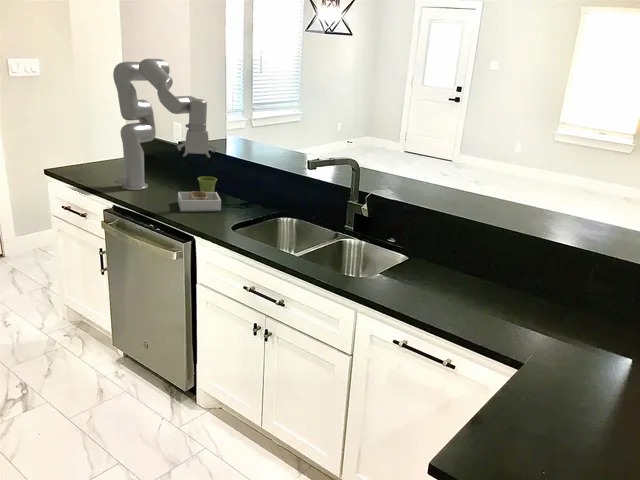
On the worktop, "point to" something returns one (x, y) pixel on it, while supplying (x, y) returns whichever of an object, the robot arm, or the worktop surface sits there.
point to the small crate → (198, 196)
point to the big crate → (199, 202)
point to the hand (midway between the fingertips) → (196, 165)
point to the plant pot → (207, 184)
